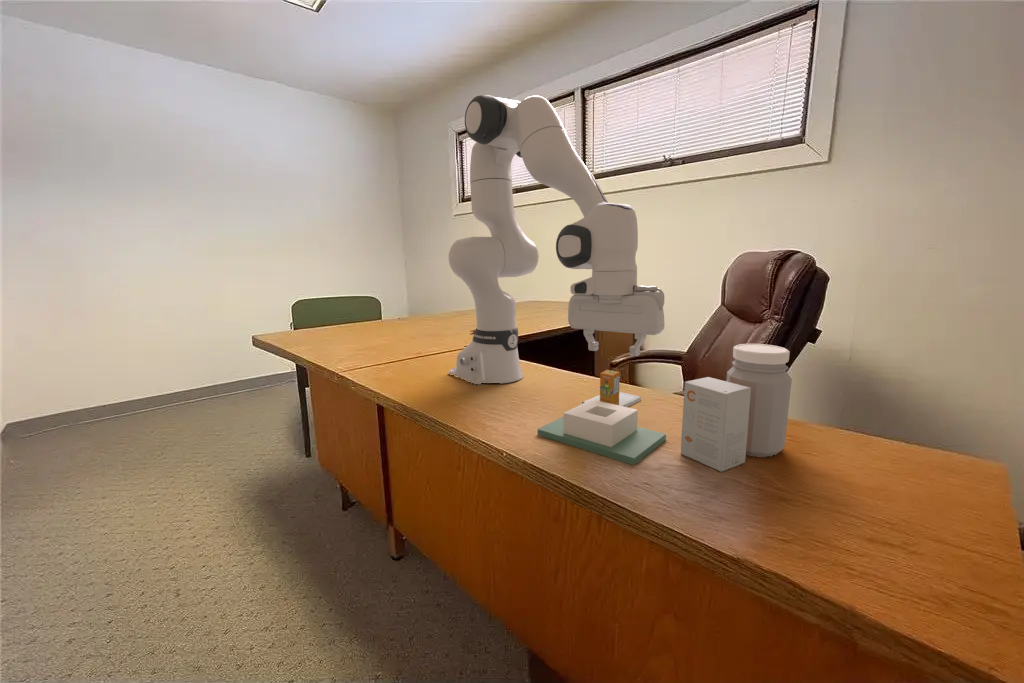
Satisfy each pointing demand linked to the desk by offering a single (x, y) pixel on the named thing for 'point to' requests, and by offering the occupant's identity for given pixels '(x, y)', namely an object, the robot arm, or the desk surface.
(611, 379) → the supplement box
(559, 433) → the board
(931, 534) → the desk surface
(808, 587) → the desk surface
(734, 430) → the small box
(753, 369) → the jar
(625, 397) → the hard drive
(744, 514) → the desk surface
